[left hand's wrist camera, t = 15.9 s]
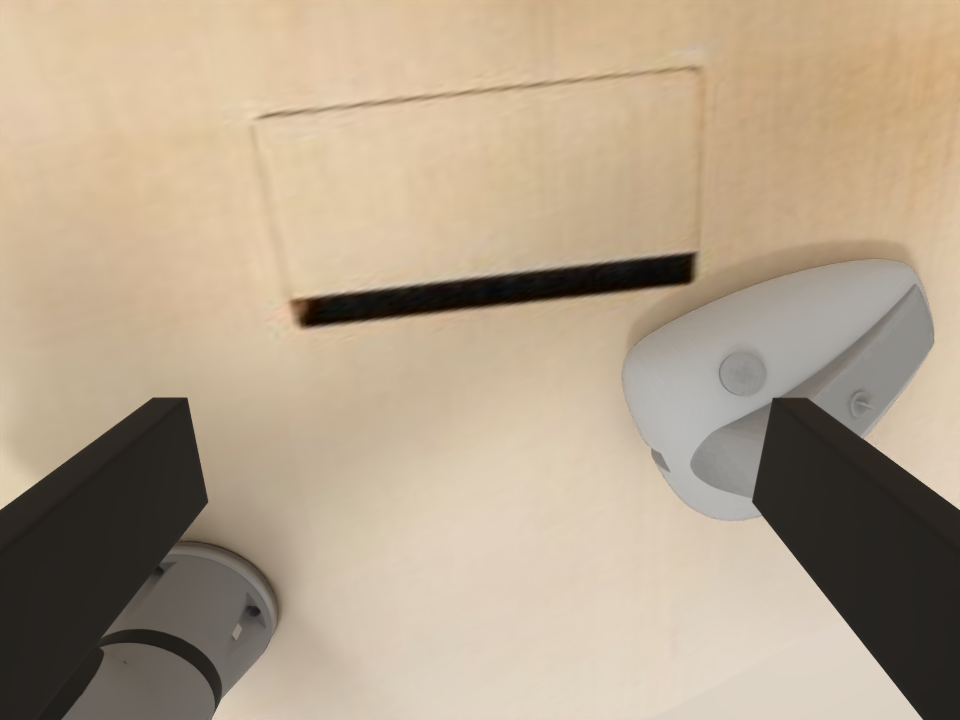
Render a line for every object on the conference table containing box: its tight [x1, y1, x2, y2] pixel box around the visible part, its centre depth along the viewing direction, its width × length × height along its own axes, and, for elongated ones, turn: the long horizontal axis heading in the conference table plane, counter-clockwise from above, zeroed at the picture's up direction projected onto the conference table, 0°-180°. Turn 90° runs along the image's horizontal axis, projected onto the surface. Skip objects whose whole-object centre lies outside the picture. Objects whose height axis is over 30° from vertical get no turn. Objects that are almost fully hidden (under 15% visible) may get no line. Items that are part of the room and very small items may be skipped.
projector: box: [622, 259, 934, 521], centre depth 39 cm, size 22×23×15 cm
